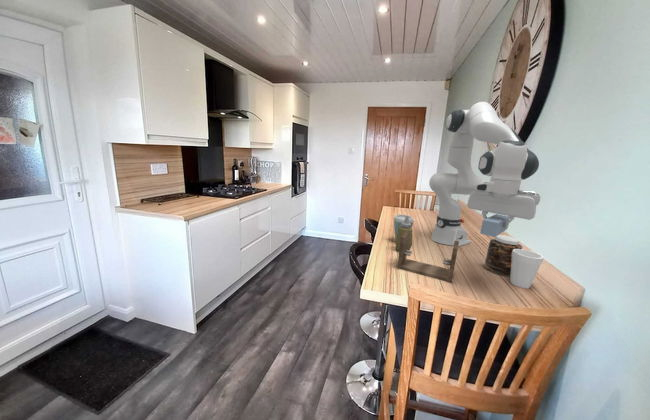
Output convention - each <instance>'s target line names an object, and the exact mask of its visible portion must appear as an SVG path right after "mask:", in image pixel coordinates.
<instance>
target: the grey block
mask: <svg viewBox="0 0 650 420" xmlns="http://www.w3.org/2000/svg"><path fill="white" fill-rule="evenodd" d="M509 220H510V219H508V216H506V215H501V214H496V213H494V214H493V215H491V216H487V218H486V219H484V218H483V219H482V224H481V228H480V232H479V234H480V235H485V236H488V237H492V238H495V237H496V236H498V235H502V233H504V232H506V230H508V228H503V227H502V226H503V223H504V222H506V223H507V222H508V221H509Z"/></svg>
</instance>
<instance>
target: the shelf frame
mask: <svg viewBox="0 0 650 420" xmlns="http://www.w3.org/2000/svg"><path fill="white" fill-rule="evenodd" d="M409 234H410V232H407V231H406V232H405V233H404V234H403V235H402V236H401V240H400V248H399V251H398V257H397V263H396V264H397V265H396V269H399V270H402V271H406V272H410V273H413V274H418V275H421V276H425V277H428V278H431V279H435V280H436V279H437V280H440V281H444V282H447V283H451V284H452V282H453V277H454V273H455V267H456V261H457V257H458V251H459V247H458V245H459V242H458V241H454V246H453V247H452V254H451V259H447V258H444V259H443V263H442V264H443V265H444V266H449V268H446V267H441V266H437V265H433V264H429V263H425V262H422V261H417V260H412V259H410V258H409V259H408V258H407V256H408V257H411V254H413V251H412V250H407V248H408V241H409Z"/></svg>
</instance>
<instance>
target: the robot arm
mask: <svg viewBox="0 0 650 420" xmlns="http://www.w3.org/2000/svg"><path fill="white" fill-rule="evenodd" d="M446 118H447V119H446V123H445V124H446V129H447V130H448V132H451V133H452V136H451V139H450V143H449V148H448V152H447V153H448V154H447V163H448V165H450V166H451V167H453V168H454V169H456V171H457V173H449V172H439V173H434V174H433V175H432V176H431V177H430V179H429V183H428V184H429V185H428V186H429V188H430V189H431V191H433V192H434V194H435V195H436V197H437V198H438V201H439V208H438V213H437V214H438V215H437V217H436V223H435V224H434V225H435V226H434V229H433V233H432V234H431V235H430V236H431V240H432V241H433V242H435V243H438V244H441V245H445V246H446V245H447V246H451V247H452V246H454V241H458V242H459V245H458V248H459V247H462V246H465V245H469V244H471V243H472V241H471V239H468V232H467V230H466V229H465V228H464V227H463V226H462V224H464V223H465V221H466V220H465V219H462V218H461V214H462V213H461V212H462V204H461V203H460V202H459V201H458V200H456V199H455V198H453V197H452V194H453V195H464V196H468V195H469V197H468V200H467V203H466V206H467V208H468V209H469V210H470V209H471V210H475V211H480V212H481V216H482V218H483V220H484V219H486V218H488V216H487V215H488V214H489V213H492V214H498V215H503V216H508V219H509V221H508V222H507V223H506V222H504V223H503V226H502V227H503V228H507V229H508V228H509V225H510V224H511V222H512V221H513V220H515V218H519V219H524V220H527V221H529V220H532V219H534V218H535V217H536V212H537V205H539V203H540V200H541V195H540V194H538V193H536V191H528V190H523V189H520V188H521V184H522V181H523V180H526V179H529V178H530V177H531V176H534V174H535V173H536V172H537V171H538V170H539V166H540V160H539V158H538V156H537V155H536V154H535V153H534V152H533V151H532V150H530V149H529V148H528V144H527V143H526V142H525V141H523V140H522V139H521V137H520V136H519V135H518V133H517V132H516V131H515V130H514V129H513V128H512V127H510V126H509V125H507V124H506V123H505V122H504V121H503V120H501V119H500V118H499V116H498V113H497V112H496V110H495V109H494V107H493V105H491V104H490V103H489V102H487V101H479V102H477V103H474V104H473V105H472V106H471V107H470V108H469V109H457V110H453V111H451V112H450V113H449V114H448V116H447V117H446ZM474 139H475V140H477V141H480V142H484V143H489V144H494V145H497V147H496V148H494V149H492V150H490V151H489V150H488V151H486V152H485V153H483V154H482V155H481V156H480V157H479V160H478V166H477V167H478V170H479V172H480V173H481V174H482V175H484V176H487V177H490V179H489V182H488V181H485V182H482V180H481V178H480V177H479V176H477V174H476V173H475V172H474V171H473V168H472V153H473V146H474Z"/></svg>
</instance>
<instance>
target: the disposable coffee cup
mask: <svg viewBox="0 0 650 420" xmlns="http://www.w3.org/2000/svg"><path fill="white" fill-rule="evenodd" d="M406 216H408V217H409V223H410V224H411V228H412V229H413V225H414V222H415V220H414V218H413V217H412V216H409V215H407V214H396V215H394V217H393V224H394V225H393V228H394V241H395V242H396V238H397V234H398V230H399V227H401V223H402V222H404V220H405V218H406Z"/></svg>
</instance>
